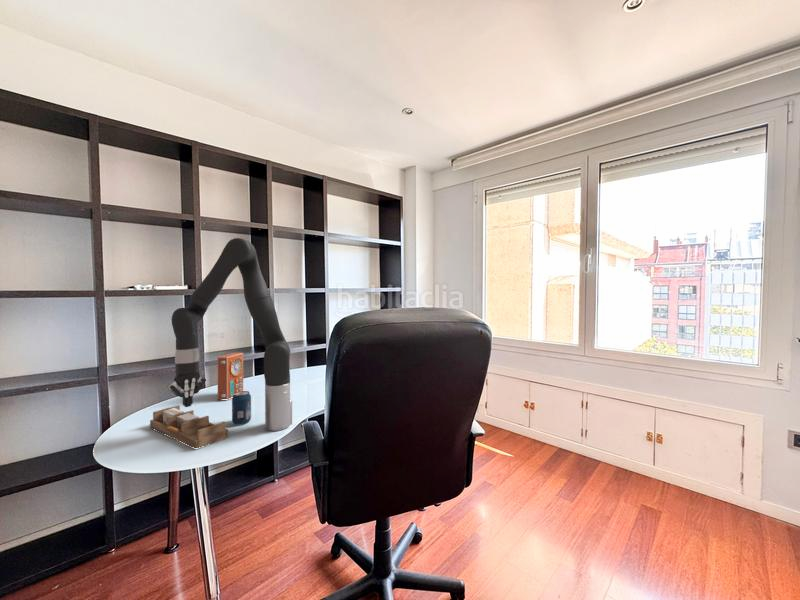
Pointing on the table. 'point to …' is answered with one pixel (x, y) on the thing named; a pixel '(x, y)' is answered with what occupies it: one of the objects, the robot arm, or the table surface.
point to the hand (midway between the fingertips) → (187, 406)
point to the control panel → (230, 375)
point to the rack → (188, 427)
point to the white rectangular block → (185, 419)
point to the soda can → (241, 408)
